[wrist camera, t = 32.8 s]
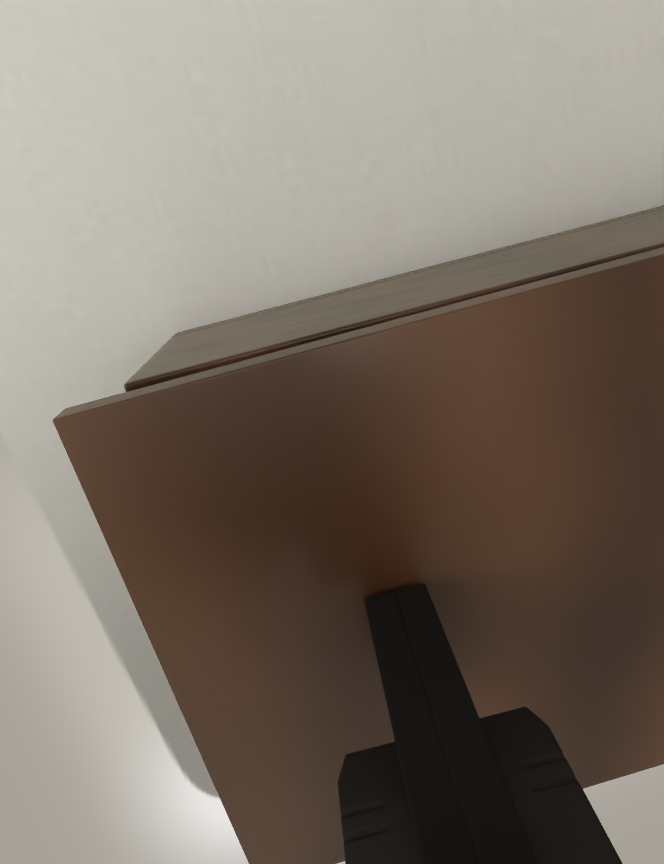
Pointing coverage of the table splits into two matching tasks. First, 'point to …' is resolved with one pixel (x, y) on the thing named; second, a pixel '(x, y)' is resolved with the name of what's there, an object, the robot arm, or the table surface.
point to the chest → (400, 296)
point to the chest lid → (400, 534)
